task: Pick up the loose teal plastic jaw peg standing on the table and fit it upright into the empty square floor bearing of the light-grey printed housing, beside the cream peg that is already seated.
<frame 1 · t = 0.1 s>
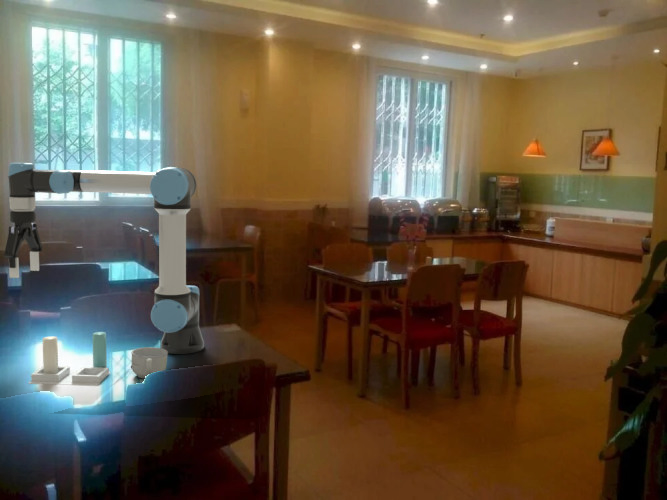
hand: (24, 274, 204), 28 cm above the table, fingers open, 13 cm apart
peg seated: (51, 376, 185), point 1 cm above the table, touching housing
teal peg: (100, 370, 195), on the table
teacup: (148, 378, 190), on the table
housing: (71, 380, 185), on the table
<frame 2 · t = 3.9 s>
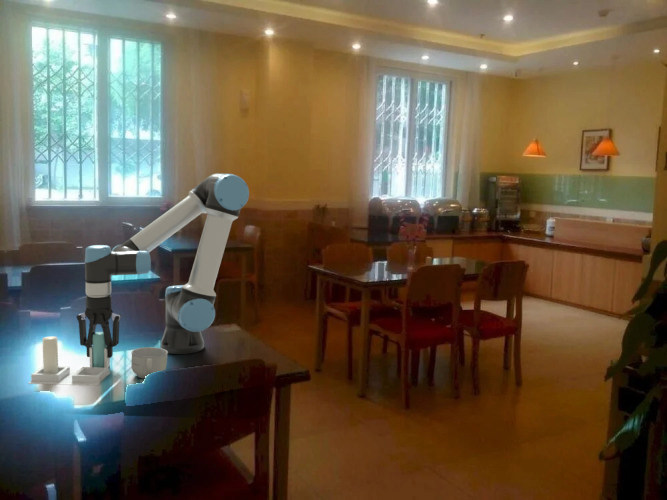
hand: (99, 366, 195), 1 cm above the table, fingers closed on teal peg, 4 cm apart
teal peg: (100, 370, 195), on the table, touching gripper
everything else where it was.
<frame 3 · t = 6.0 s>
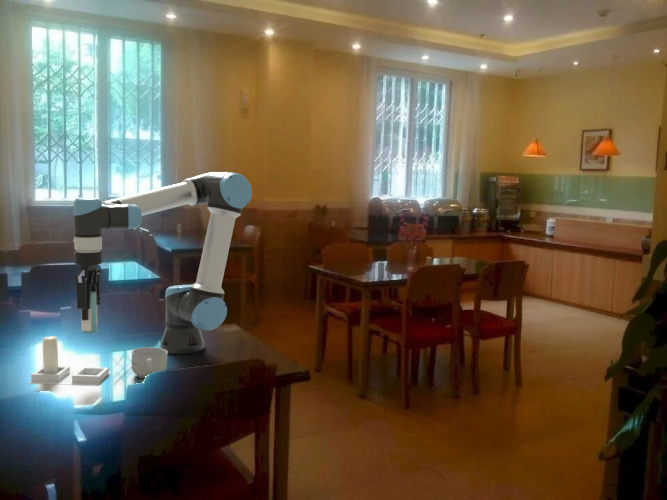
hand: (89, 328, 183), 16 cm above the table, fingers closed on teal peg, 4 cm apart
teal peg: (89, 331, 183), point 15 cm above the table, touching gripper
everything else where it was.
when the fingers open (4 cm above the table, at t = 8.4 s): teal peg stays where it is, resting on housing.
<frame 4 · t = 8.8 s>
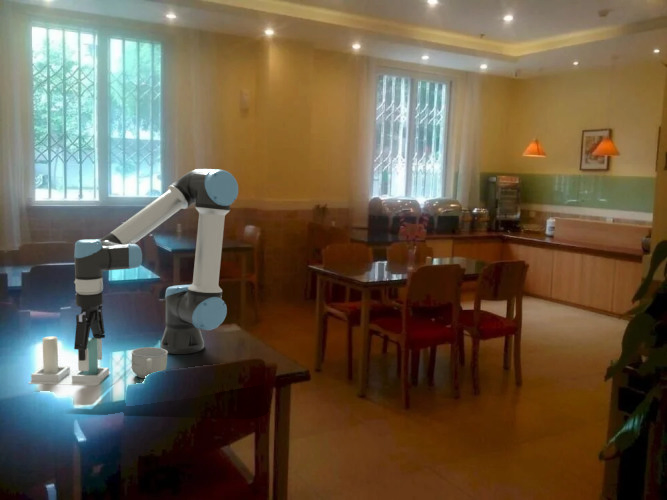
hand: (90, 364, 185), 5 cm above the table, fingers open, 10 cm apart
teal peg: (90, 378, 185), point 1 cm above the table, touching housing
everything else where it was.
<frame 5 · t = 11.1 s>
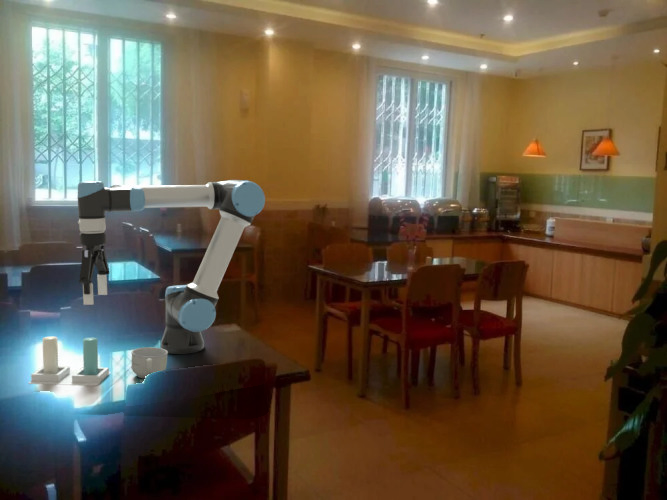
hand: (96, 299, 191), 23 cm above the table, fingers open, 13 cm apart
nothing on the table moved.
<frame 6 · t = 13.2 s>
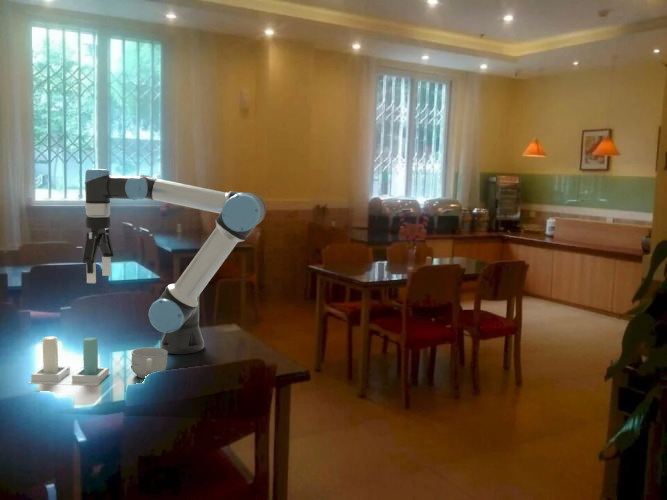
hand: (99, 279, 205), 27 cm above the table, fingers open, 13 cm apart
nothing on the table moved.
at the end: teal peg 0.0 cm from the target spot on the housing, point 1.0 cm above the housing's base; teal peg tilted 0°; peg seated moved 0.0 cm from its start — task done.
